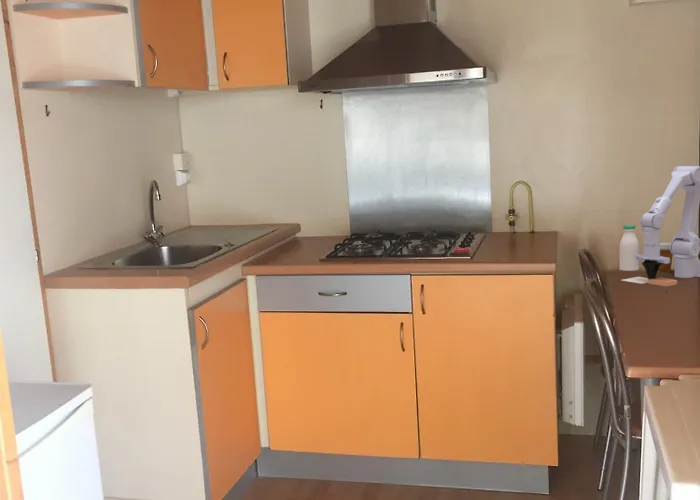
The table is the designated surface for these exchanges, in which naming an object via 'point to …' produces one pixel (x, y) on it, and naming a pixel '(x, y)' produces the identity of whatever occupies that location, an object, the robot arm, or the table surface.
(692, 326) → the table surface
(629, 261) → the milk bottle
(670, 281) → the terracotta tile
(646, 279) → the white riser
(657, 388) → the table surface
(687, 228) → the robot arm
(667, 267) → the disposable coffee cup
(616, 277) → the table surface
